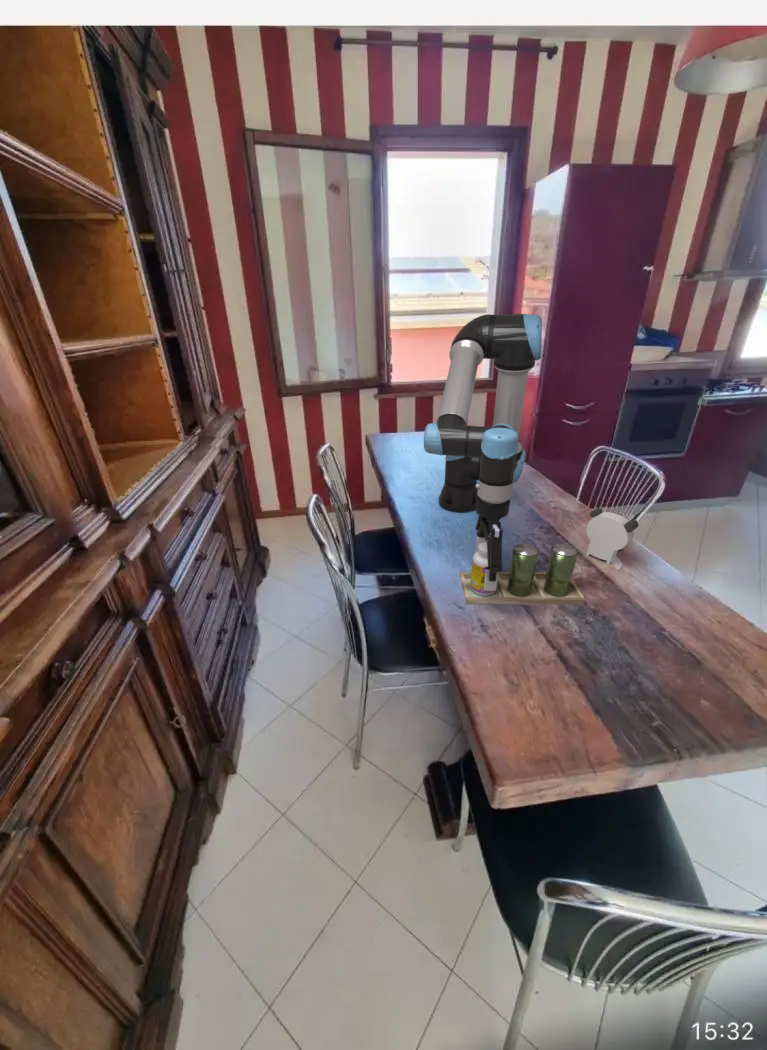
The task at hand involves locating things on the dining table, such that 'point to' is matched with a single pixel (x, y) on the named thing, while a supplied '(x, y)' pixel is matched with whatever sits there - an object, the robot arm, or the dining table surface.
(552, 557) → the can
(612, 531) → the panda figurine
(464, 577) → the caddy
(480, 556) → the supplement bottle
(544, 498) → the dining table surface
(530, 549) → the can
